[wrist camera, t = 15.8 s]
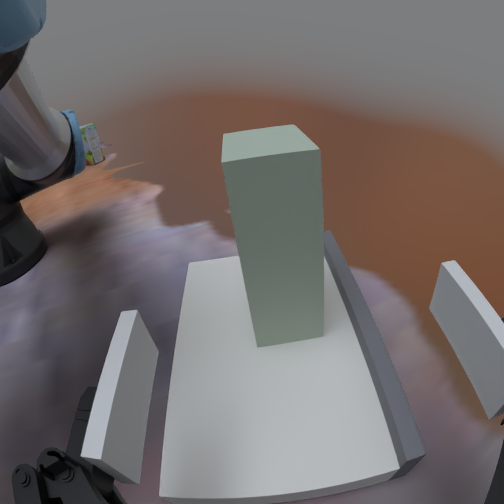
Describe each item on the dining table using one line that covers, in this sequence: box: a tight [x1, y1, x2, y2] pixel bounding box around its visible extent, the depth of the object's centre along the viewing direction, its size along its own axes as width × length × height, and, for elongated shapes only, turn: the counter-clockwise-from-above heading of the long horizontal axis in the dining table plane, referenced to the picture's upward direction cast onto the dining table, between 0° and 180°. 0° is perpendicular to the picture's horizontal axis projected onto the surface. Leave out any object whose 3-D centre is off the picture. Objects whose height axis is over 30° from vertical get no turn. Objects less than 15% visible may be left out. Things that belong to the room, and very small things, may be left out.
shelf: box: [159, 230, 426, 504], centre depth 24 cm, size 24×16×4 cm, turn 4°
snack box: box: [79, 123, 105, 165], centre depth 102 cm, size 21×6×15 cm, turn 57°
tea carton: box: [221, 125, 324, 348], centre depth 22 cm, size 5×7×14 cm
